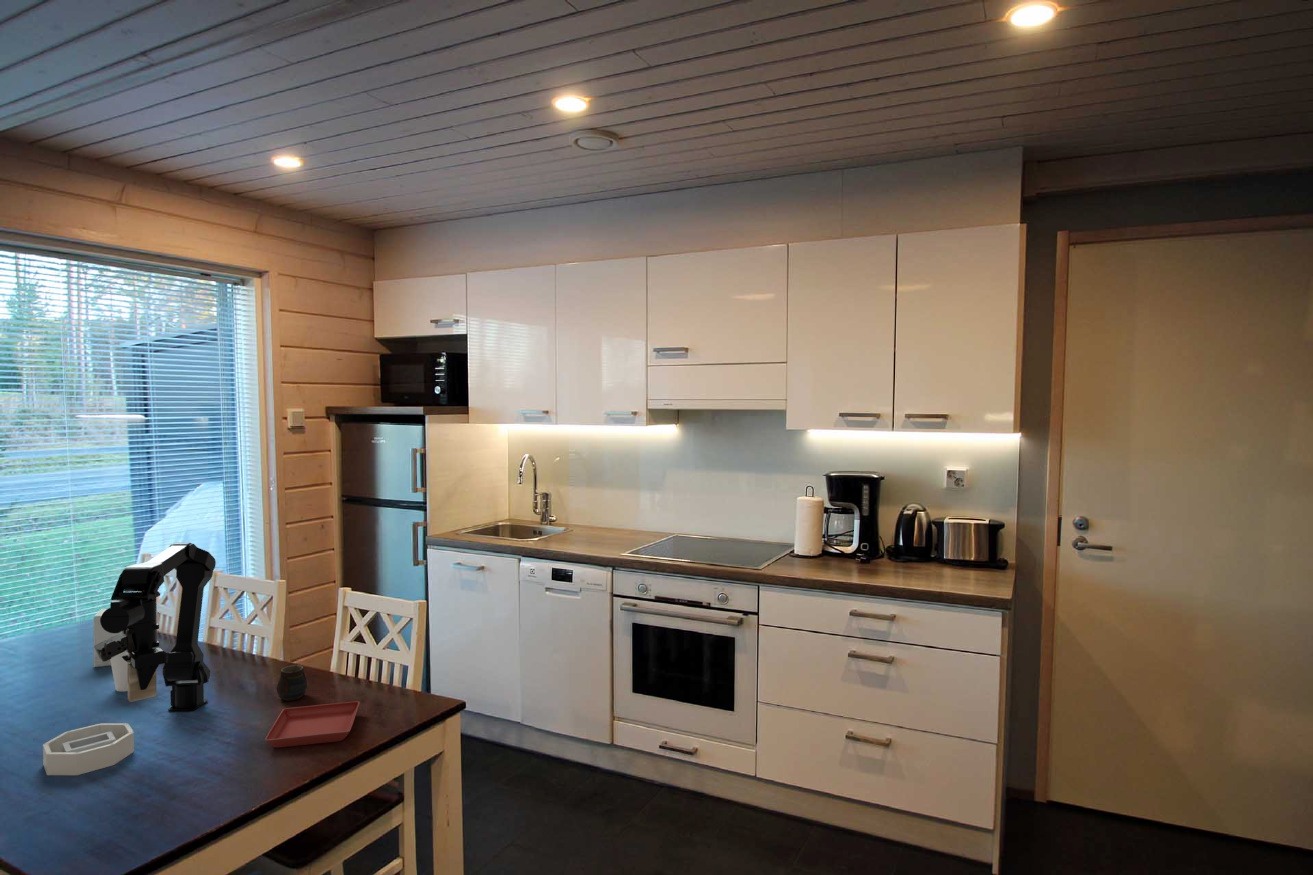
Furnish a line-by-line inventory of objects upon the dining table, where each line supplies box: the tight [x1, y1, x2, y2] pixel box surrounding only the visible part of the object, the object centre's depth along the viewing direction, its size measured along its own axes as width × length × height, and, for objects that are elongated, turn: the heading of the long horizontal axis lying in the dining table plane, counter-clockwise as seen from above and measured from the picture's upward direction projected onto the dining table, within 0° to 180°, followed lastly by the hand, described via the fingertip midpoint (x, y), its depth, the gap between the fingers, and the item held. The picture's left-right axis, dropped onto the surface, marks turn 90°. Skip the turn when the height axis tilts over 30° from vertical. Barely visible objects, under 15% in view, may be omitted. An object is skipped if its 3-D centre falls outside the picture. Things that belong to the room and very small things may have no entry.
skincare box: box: [93, 608, 122, 668], centre depth 218 cm, size 8×7×16 cm
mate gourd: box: [276, 664, 308, 702], centre depth 193 cm, size 7×8×10 cm
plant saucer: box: [264, 700, 361, 748], centre depth 173 cm, size 18×18×3 cm
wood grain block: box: [127, 660, 158, 703], centre depth 166 cm, size 2×5×9 cm, turn 137°
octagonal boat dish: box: [42, 722, 135, 776], centre depth 158 cm, size 15×15×4 cm
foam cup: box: [110, 651, 128, 692], centre depth 199 cm, size 10×9×13 cm
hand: (142, 687), depth 166 cm, fingers closed on wood grain block, 2 cm apart
